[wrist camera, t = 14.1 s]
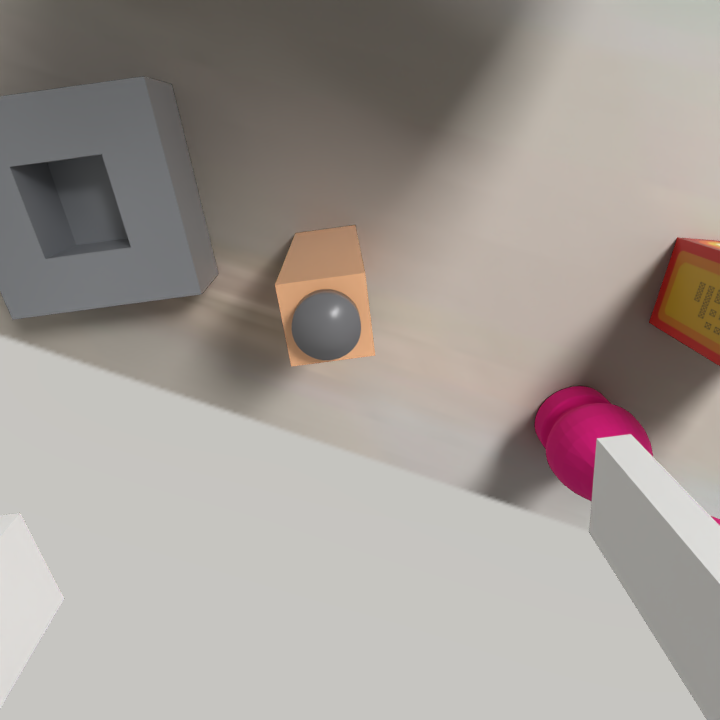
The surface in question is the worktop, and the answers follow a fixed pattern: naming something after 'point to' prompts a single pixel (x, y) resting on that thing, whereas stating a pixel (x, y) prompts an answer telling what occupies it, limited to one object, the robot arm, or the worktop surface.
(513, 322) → the worktop surface
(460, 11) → the worktop surface
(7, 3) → the worktop surface
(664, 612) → the robot arm
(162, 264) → the grey square socket block
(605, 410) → the pepper mill
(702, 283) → the baking soda box
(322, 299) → the plug
